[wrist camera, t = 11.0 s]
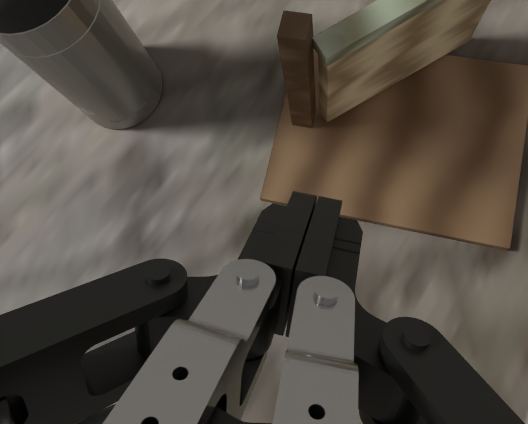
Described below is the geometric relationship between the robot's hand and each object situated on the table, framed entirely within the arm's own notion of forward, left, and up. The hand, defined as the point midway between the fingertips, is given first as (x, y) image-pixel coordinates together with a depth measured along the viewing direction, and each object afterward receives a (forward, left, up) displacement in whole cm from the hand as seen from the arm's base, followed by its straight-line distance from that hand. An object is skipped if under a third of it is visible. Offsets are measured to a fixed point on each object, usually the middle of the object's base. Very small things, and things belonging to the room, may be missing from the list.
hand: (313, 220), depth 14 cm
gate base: (-9, +13, -30) cm, 34 cm away
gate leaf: (-15, +16, -28) cm, 36 cm away
